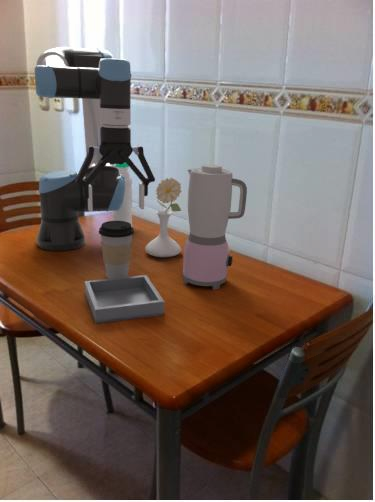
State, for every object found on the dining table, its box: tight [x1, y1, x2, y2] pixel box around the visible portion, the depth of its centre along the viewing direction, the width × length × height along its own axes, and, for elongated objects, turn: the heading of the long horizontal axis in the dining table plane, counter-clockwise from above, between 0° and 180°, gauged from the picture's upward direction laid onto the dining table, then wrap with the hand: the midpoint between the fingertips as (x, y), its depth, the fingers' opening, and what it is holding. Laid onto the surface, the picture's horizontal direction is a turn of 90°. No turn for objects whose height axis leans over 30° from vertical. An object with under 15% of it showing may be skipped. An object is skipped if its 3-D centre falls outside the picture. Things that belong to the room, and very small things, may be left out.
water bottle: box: [112, 162, 133, 228], centre depth 165 cm, size 7×7×25 cm
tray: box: [84, 274, 165, 324], centre depth 112 cm, size 16×16×4 cm
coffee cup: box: [98, 220, 135, 279], centre depth 125 cm, size 9×9×15 cm
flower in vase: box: [144, 177, 182, 258], centre depth 141 cm, size 13×11×25 cm
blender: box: [182, 163, 248, 290], centre depth 122 cm, size 16×12×32 cm
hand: (116, 209), depth 121 cm, fingers open, 13 cm apart
